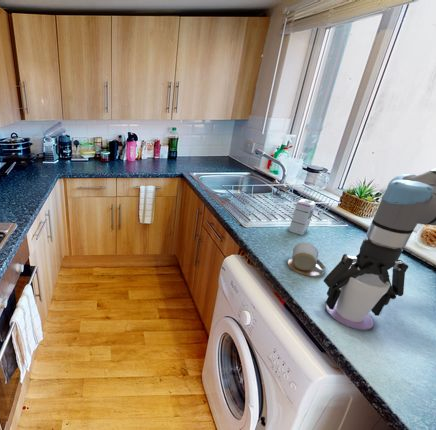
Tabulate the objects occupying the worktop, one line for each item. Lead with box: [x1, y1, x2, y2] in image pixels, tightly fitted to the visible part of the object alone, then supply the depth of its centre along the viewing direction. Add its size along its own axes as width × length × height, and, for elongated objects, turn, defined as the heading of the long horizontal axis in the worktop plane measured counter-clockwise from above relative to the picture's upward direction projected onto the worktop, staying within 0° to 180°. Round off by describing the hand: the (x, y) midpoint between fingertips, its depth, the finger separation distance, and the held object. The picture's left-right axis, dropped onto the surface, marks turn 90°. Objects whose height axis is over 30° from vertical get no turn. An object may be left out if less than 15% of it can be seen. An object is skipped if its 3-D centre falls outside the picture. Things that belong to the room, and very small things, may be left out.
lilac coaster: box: [325, 302, 375, 331], centre depth 82 cm, size 11×11×1 cm
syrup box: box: [288, 198, 317, 236], centre depth 125 cm, size 6×6×14 cm
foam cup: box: [336, 267, 391, 322], centre depth 79 cm, size 10×9×13 cm
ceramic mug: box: [291, 242, 327, 274], centre depth 101 cm, size 11×8×8 cm
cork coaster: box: [287, 258, 324, 278], centre depth 103 cm, size 11×11×1 cm
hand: (351, 309), depth 81 cm, fingers open, 11 cm apart
